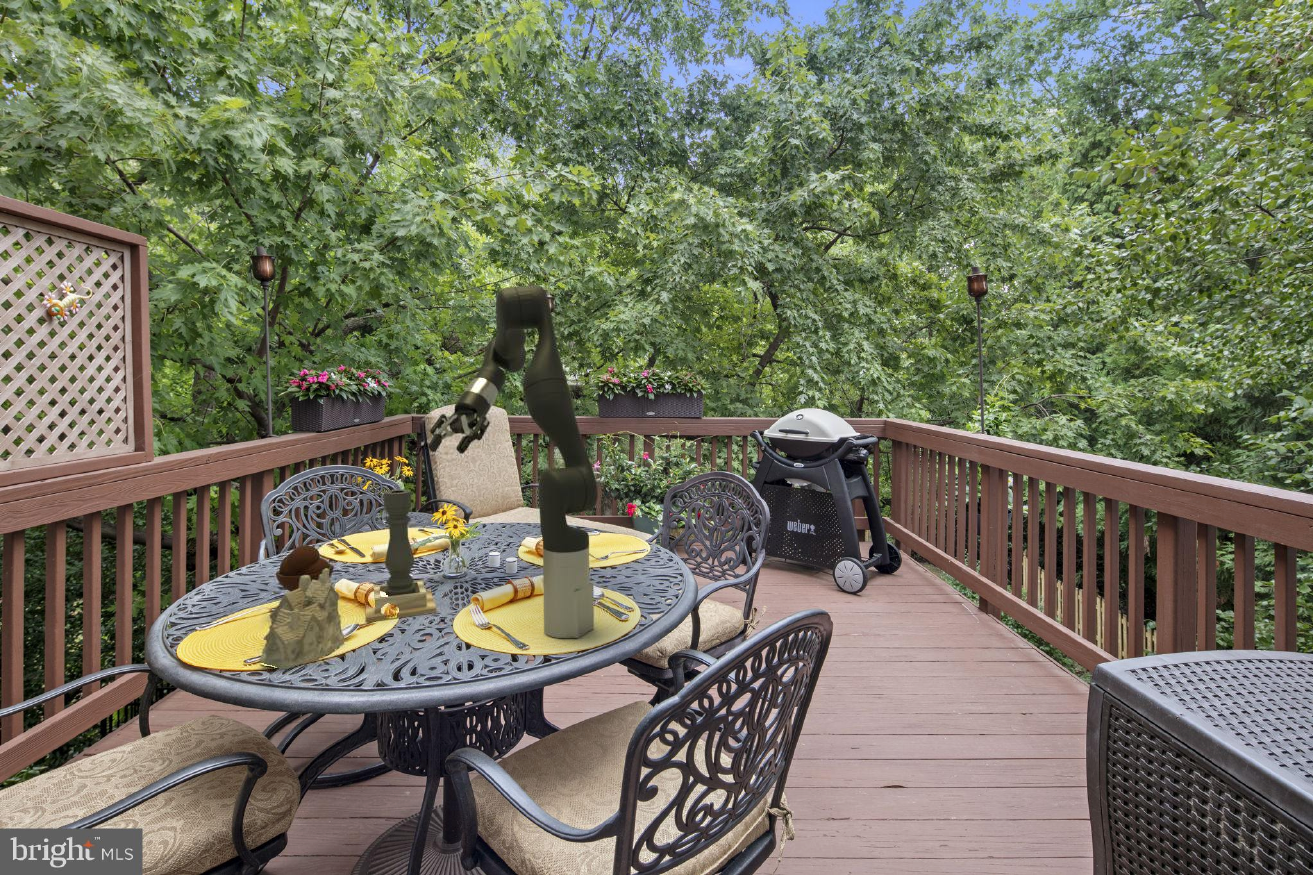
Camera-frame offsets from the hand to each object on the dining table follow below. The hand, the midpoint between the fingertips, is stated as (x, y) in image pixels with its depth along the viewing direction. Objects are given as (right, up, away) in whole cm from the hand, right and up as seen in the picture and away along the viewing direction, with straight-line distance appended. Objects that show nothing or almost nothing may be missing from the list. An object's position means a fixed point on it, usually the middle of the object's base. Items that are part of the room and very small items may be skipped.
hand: (445, 450), depth 150 cm
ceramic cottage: (-19, -37, -28) cm, 50 cm away
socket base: (-8, -35, -6) cm, 36 cm away
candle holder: (-8, -34, -6) cm, 35 cm away
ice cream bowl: (-27, -35, -9) cm, 45 cm away
